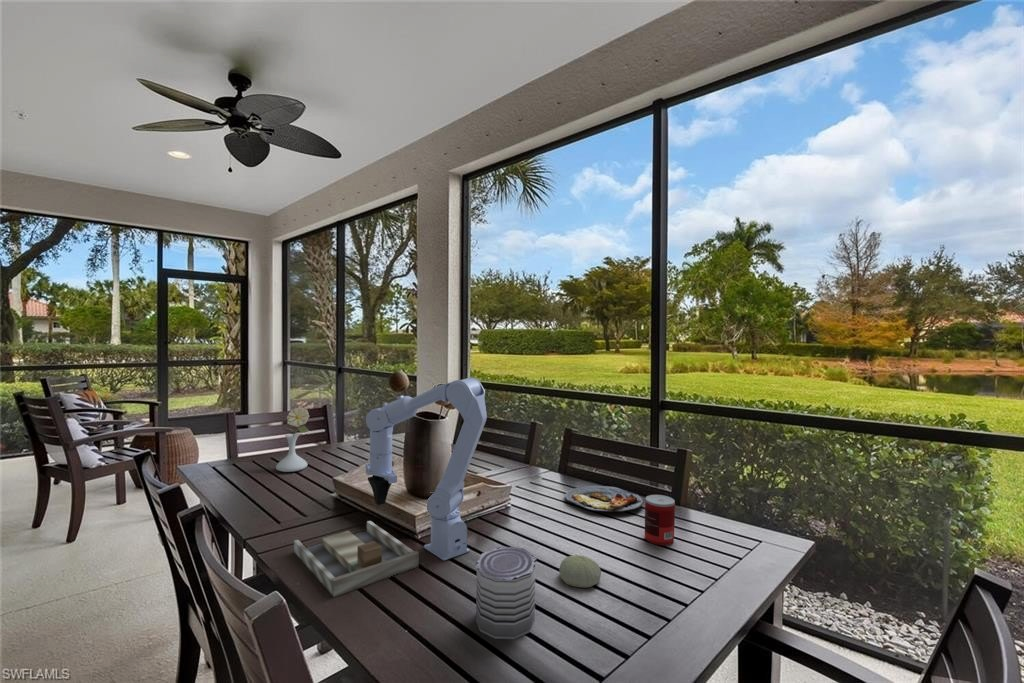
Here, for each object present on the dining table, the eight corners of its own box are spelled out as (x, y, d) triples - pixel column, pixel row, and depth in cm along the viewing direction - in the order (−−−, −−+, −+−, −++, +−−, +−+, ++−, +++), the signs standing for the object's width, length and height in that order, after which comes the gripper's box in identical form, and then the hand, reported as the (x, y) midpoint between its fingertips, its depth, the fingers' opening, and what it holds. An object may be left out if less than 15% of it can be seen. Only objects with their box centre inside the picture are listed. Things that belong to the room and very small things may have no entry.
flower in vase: (269, 473, 183) (269, 408, 182) (287, 465, 194) (288, 404, 194) (300, 475, 181) (300, 409, 180) (317, 467, 192) (317, 405, 192)
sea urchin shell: (595, 587, 101) (571, 554, 104) (570, 605, 104) (548, 572, 107) (610, 569, 108) (587, 539, 111) (587, 586, 111) (565, 556, 114)
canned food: (675, 536, 131) (676, 497, 131) (672, 548, 124) (673, 506, 124) (647, 531, 135) (647, 492, 134) (642, 542, 127) (643, 501, 127)
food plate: (658, 507, 153) (658, 496, 153) (606, 523, 140) (606, 511, 140) (602, 488, 174) (602, 478, 174) (552, 500, 160) (552, 490, 160)
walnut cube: (381, 564, 108) (381, 546, 108) (364, 569, 106) (365, 552, 106) (373, 557, 111) (374, 541, 111) (357, 563, 109) (357, 545, 109)
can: (547, 626, 90) (548, 563, 90) (497, 648, 84) (498, 581, 83) (512, 598, 99) (513, 541, 99) (464, 616, 93) (465, 555, 93)
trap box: (418, 567, 112) (418, 552, 112) (333, 597, 99) (333, 581, 99) (370, 531, 131) (370, 519, 131) (293, 552, 118) (294, 539, 118)
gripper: (355, 449, 129) (354, 499, 130) (379, 461, 118) (378, 515, 119) (379, 446, 134) (378, 493, 134) (404, 456, 123) (404, 508, 123)
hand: (380, 503), depth 127 cm, fingers closed
